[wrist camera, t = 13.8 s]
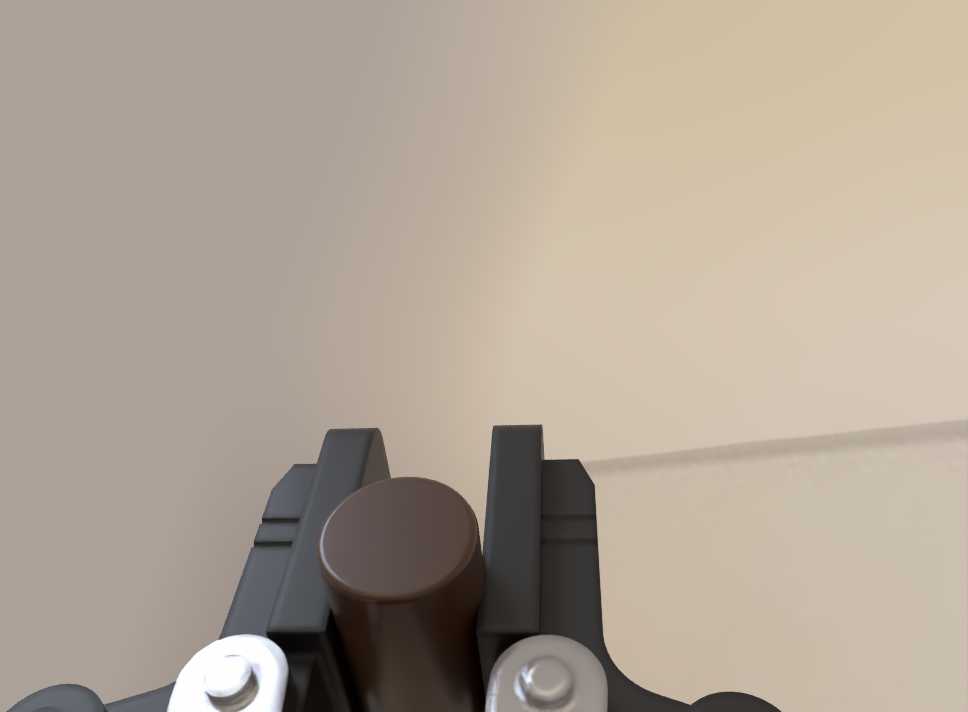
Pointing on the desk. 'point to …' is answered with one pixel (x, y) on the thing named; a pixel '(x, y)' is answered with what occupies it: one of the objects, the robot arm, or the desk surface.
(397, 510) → the stick
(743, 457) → the desk surface
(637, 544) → the desk surface
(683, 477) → the desk surface
